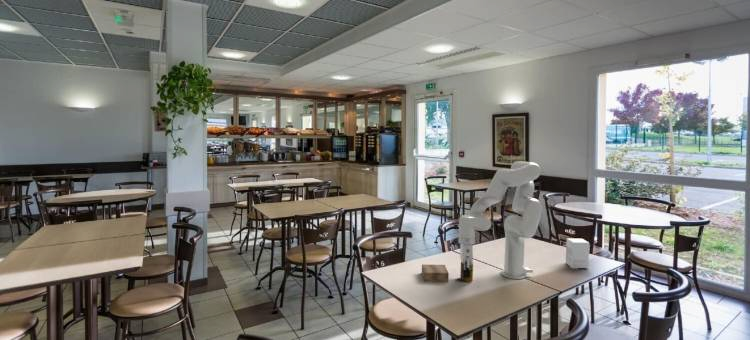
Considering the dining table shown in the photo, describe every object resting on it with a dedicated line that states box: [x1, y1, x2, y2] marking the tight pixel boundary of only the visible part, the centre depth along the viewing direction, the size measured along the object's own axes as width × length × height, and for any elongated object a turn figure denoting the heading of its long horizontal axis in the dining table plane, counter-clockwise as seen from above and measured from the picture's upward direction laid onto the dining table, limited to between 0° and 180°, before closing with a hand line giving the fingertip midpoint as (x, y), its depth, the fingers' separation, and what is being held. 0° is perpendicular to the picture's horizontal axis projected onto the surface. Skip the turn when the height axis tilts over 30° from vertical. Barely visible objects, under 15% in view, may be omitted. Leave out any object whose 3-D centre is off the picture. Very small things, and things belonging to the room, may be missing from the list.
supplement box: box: [565, 238, 590, 269], centre depth 212 cm, size 9×9×15 cm
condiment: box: [453, 261, 476, 285], centre depth 189 cm, size 7×8×12 cm
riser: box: [421, 263, 450, 283], centre depth 194 cm, size 12×12×5 cm
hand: (465, 274), depth 190 cm, fingers open, 7 cm apart
